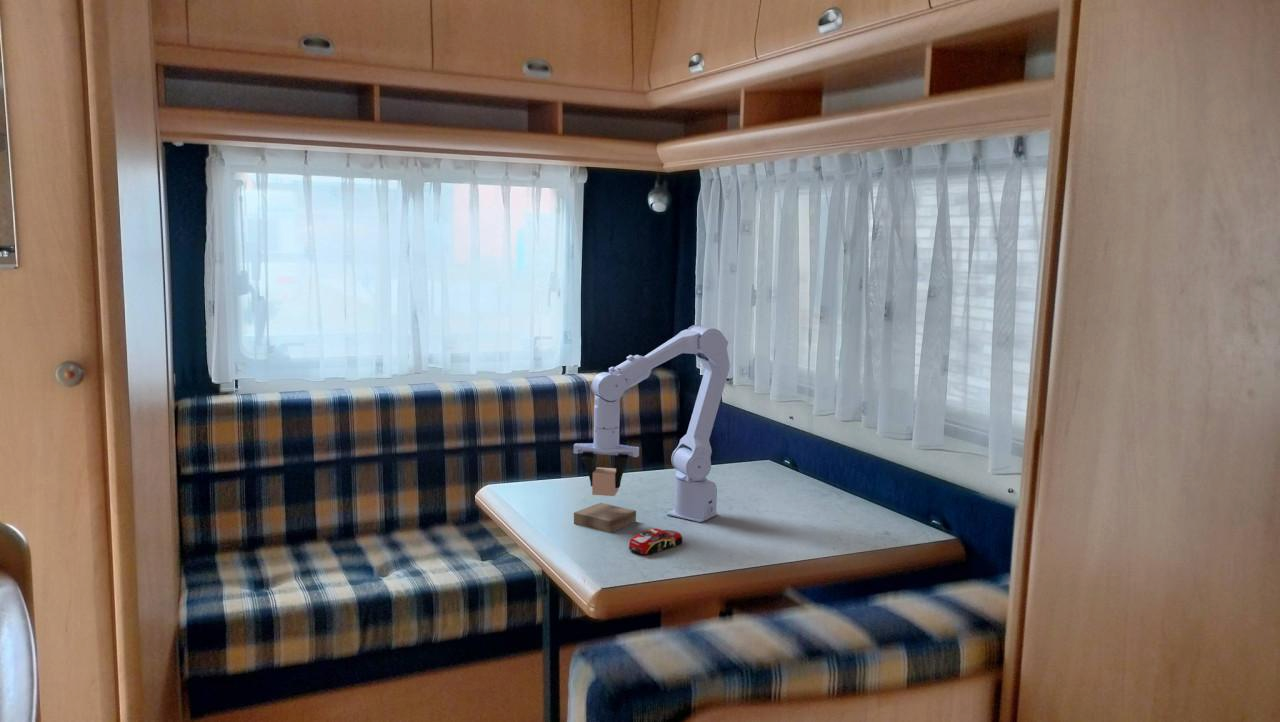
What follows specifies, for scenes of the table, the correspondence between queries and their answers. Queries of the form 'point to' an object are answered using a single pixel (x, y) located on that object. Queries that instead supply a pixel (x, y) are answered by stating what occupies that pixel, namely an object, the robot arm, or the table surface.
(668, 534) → the race car
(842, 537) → the table surface
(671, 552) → the table surface
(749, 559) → the table surface
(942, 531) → the table surface
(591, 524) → the walnut base block
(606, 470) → the terracotta cube
